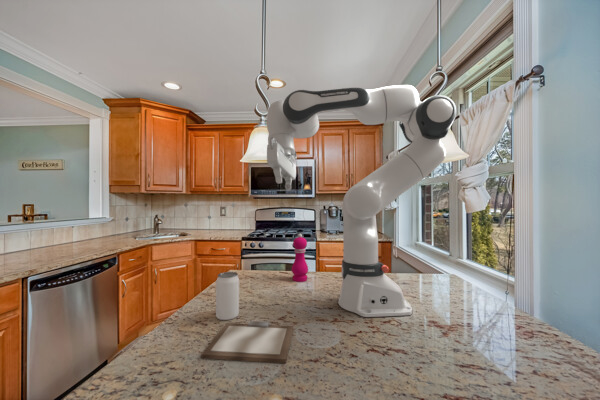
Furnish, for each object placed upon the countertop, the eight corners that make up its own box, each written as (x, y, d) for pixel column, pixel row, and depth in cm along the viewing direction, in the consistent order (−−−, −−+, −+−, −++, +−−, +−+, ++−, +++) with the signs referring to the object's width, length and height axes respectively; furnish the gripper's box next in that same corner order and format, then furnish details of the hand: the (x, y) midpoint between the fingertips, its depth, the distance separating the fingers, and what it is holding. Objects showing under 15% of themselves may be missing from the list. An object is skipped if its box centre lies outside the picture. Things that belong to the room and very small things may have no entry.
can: (218, 311, 75) (219, 271, 76) (240, 310, 76) (240, 271, 76) (213, 321, 69) (213, 277, 69) (236, 320, 70) (237, 277, 70)
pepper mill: (308, 277, 111) (308, 232, 111) (307, 282, 104) (307, 234, 104) (292, 277, 112) (292, 232, 112) (290, 282, 105) (290, 234, 105)
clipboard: (293, 328, 65) (293, 323, 65) (285, 363, 51) (285, 355, 51) (226, 325, 67) (226, 320, 67) (201, 358, 52) (201, 350, 52)
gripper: (280, 132, 74) (283, 176, 72) (297, 156, 94) (300, 191, 91) (260, 136, 76) (262, 179, 73) (282, 159, 95) (284, 194, 92)
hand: (284, 186), depth 82 cm, fingers open, 8 cm apart
